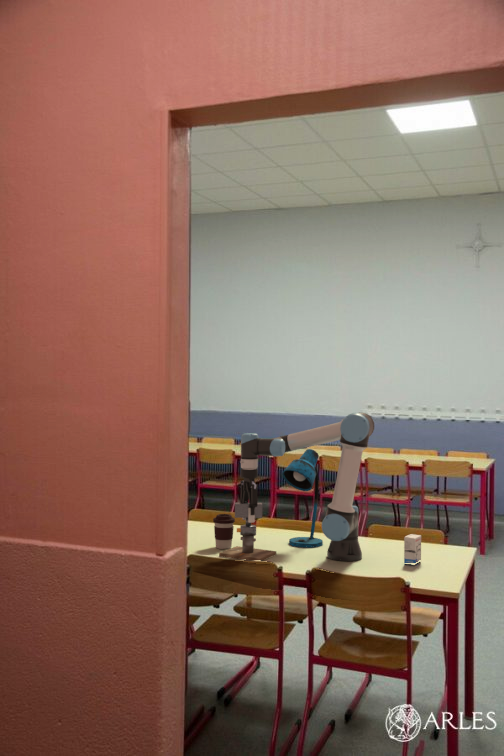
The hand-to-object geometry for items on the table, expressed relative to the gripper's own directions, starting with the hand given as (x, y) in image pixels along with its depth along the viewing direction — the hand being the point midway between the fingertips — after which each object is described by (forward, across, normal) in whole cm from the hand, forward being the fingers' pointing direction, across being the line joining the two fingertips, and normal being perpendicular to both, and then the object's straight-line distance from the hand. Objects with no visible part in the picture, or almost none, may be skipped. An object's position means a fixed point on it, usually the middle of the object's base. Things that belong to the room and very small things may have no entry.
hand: (248, 521), depth 328 cm
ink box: (+16, +38, +60) cm, 73 cm away
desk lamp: (+16, -11, +33) cm, 38 cm away
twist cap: (+6, 0, 0) cm, 6 cm away
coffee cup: (+15, -18, -4) cm, 24 cm away
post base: (+15, 0, 0) cm, 15 cm away
